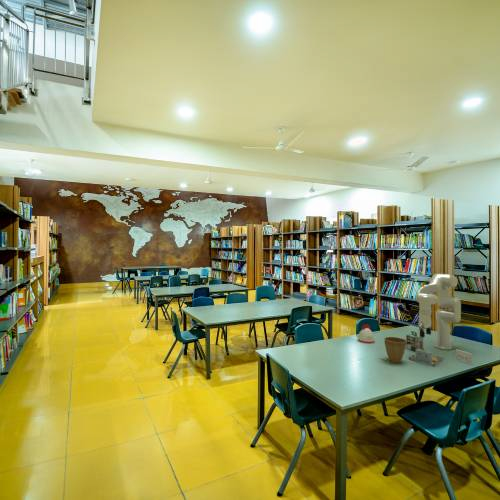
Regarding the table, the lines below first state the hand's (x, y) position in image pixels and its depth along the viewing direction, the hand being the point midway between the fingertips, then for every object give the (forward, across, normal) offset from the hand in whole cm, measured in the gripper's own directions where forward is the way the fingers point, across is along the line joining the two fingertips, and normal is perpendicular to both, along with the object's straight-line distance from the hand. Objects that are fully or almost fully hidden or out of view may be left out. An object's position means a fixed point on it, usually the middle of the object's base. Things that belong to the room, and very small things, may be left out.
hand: (425, 335), depth 231 cm
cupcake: (+19, -9, -54) cm, 58 cm away
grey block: (+18, +2, 0) cm, 18 cm away
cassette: (+19, -20, +18) cm, 33 cm away
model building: (+20, -20, -17) cm, 33 cm away
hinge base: (+19, -3, 0) cm, 19 cm away
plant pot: (+19, +18, -13) cm, 29 cm away
